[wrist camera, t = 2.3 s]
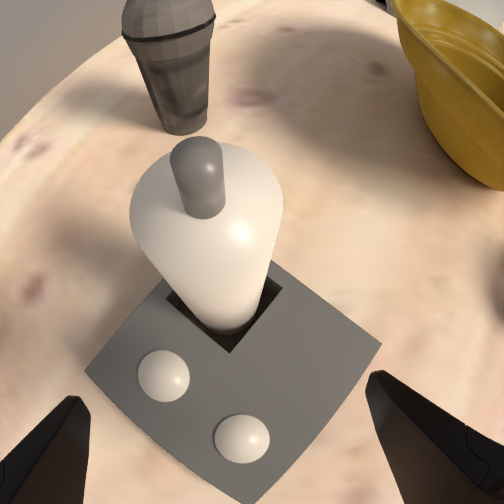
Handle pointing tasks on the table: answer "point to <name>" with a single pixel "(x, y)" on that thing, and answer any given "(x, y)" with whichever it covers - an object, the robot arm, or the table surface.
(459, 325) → the table surface
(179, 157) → the white lotion bottle
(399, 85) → the table surface
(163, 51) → the beverage cup
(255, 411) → the charging dock
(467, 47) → the planter bowl
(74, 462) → the robot arm
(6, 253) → the table surface
